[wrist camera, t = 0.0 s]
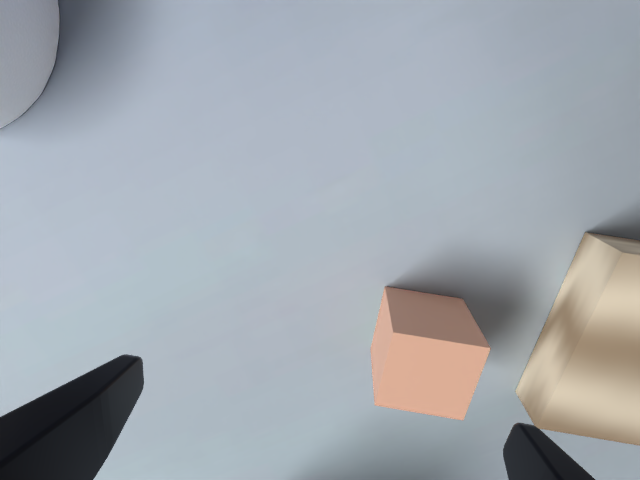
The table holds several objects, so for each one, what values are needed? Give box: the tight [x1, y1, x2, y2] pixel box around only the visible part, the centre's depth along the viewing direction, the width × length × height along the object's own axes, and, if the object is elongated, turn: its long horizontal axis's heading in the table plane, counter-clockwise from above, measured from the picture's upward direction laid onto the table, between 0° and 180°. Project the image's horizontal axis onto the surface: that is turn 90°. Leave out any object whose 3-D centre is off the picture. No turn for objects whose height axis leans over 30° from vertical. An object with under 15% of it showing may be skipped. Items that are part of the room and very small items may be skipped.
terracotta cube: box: [371, 286, 491, 420], centre depth 21 cm, size 5×5×5 cm
